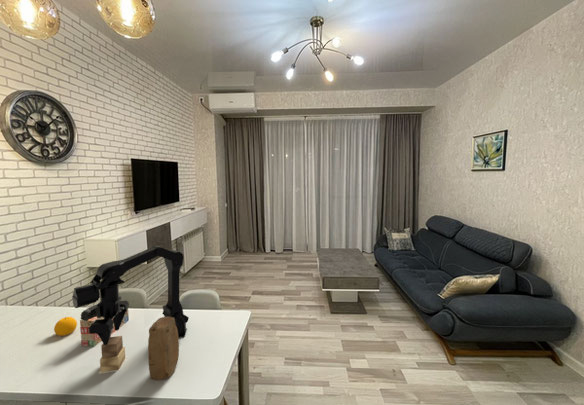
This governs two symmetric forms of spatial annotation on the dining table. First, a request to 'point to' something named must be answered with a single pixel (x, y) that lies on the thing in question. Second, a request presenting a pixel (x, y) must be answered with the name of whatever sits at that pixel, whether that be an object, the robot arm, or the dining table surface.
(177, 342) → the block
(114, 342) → the walnut cube
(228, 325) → the dining table surface
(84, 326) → the stack of blocks
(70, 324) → the orange
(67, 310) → the dining table surface
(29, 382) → the dining table surface
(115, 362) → the oak base block
